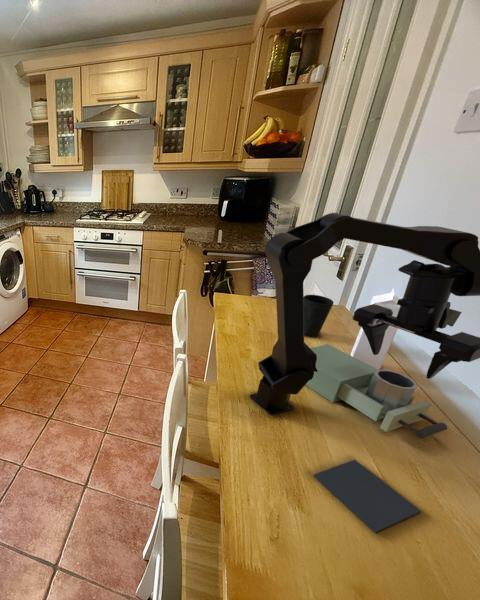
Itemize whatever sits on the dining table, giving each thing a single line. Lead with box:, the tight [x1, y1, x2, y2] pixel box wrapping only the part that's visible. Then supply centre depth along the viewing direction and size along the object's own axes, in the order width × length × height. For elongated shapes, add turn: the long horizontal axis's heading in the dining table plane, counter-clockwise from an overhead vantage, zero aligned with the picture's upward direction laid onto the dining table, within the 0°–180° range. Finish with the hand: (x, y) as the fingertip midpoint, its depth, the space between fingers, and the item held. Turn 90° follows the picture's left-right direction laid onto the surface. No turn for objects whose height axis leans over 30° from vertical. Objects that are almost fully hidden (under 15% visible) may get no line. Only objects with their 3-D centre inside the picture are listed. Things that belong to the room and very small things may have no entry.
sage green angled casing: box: [305, 343, 377, 404], centre depth 80 cm, size 13×13×6 cm
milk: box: [349, 287, 400, 370], centre depth 82 cm, size 6×6×22 cm
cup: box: [304, 294, 335, 338], centre depth 101 cm, size 8×8×12 cm
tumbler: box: [365, 369, 418, 416], centre depth 68 cm, size 6×7×8 cm
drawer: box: [337, 375, 448, 439], centre depth 68 cm, size 16×11×4 cm
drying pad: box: [313, 459, 421, 534], centre depth 53 cm, size 10×10×1 cm
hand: (400, 365), depth 66 cm, fingers open, 9 cm apart
